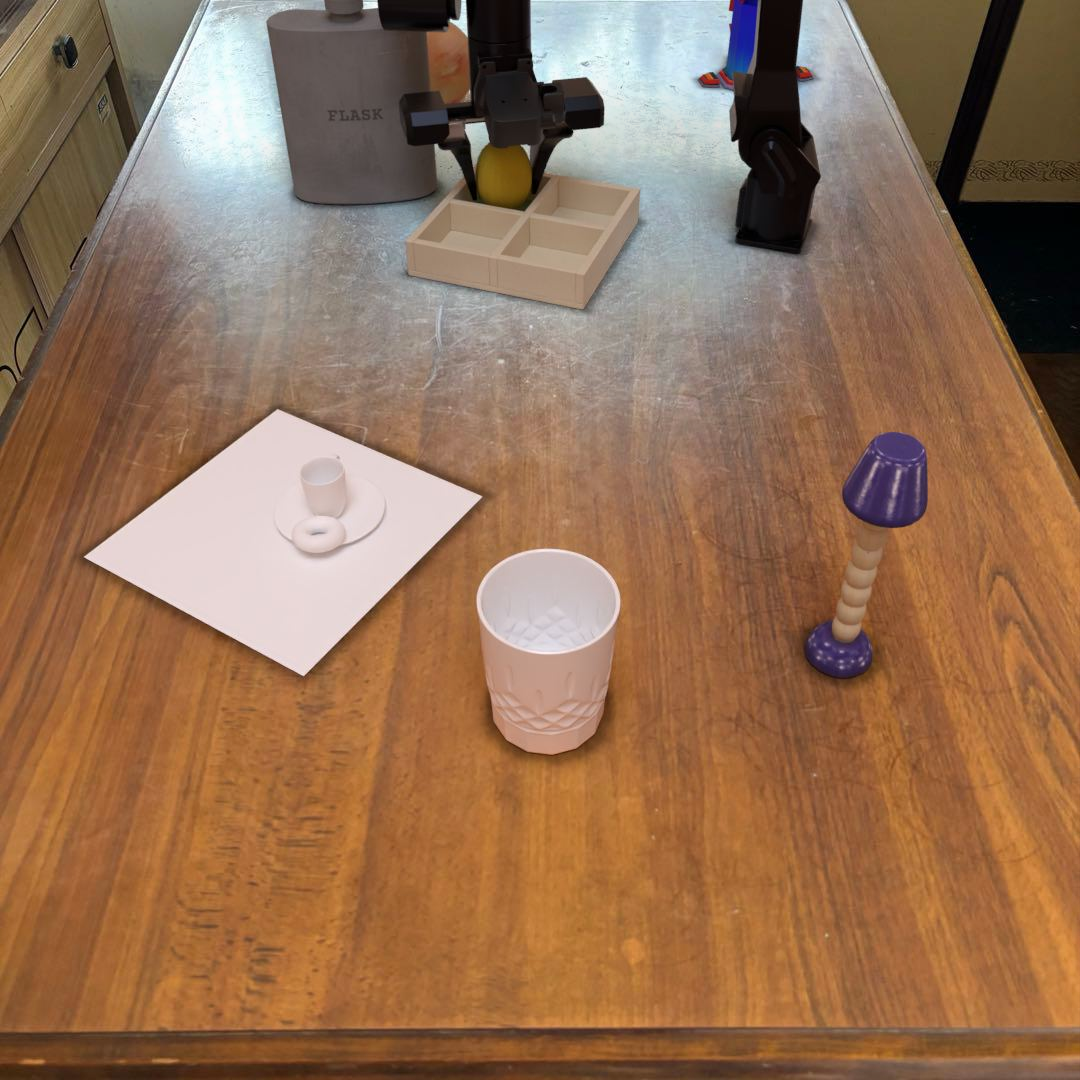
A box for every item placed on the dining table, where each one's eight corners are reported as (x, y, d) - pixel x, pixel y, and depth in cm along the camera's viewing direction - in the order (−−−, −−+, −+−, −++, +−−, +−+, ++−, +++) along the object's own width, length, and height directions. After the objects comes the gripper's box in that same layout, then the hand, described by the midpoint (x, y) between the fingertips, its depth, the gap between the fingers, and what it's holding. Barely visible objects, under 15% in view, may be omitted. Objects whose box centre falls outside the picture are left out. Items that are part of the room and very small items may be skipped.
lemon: (525, 230, 109) (525, 151, 103) (471, 224, 109) (467, 146, 104) (537, 203, 112) (537, 127, 107) (484, 198, 113) (481, 122, 108)
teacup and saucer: (330, 574, 75) (322, 531, 73) (243, 532, 79) (232, 489, 76) (407, 501, 81) (402, 459, 78) (323, 464, 84) (316, 422, 81)
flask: (292, 208, 113) (257, 2, 100) (296, 182, 118) (263, -19, 104) (438, 202, 114) (423, -3, 100) (436, 176, 119) (422, -24, 105)
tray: (638, 222, 111) (640, 188, 109) (583, 310, 100) (584, 274, 97) (479, 194, 116) (477, 161, 113) (408, 275, 104) (405, 240, 101)
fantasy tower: (691, 83, 137) (701, -20, 128) (735, 54, 144) (747, -46, 135) (777, 106, 132) (793, -1, 123) (819, 74, 139) (837, -29, 130)
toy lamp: (798, 621, 72) (847, 419, 61) (870, 623, 72) (932, 420, 61) (809, 678, 69) (863, 475, 57) (884, 680, 69) (953, 477, 57)
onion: (494, 99, 133) (492, 12, 126) (446, 129, 127) (441, 39, 120) (430, 82, 137) (424, -3, 130) (380, 111, 131) (371, 23, 124)
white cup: (480, 664, 70) (473, 552, 63) (603, 656, 70) (610, 543, 63) (486, 769, 64) (479, 658, 57) (620, 759, 65) (630, 648, 58)
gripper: (407, 76, 92) (422, 246, 102) (624, 56, 94) (616, 224, 105) (391, 29, 99) (406, 191, 110) (591, 12, 102) (587, 172, 113)
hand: (503, 195), depth 110 cm, fingers open, 6 cm apart
